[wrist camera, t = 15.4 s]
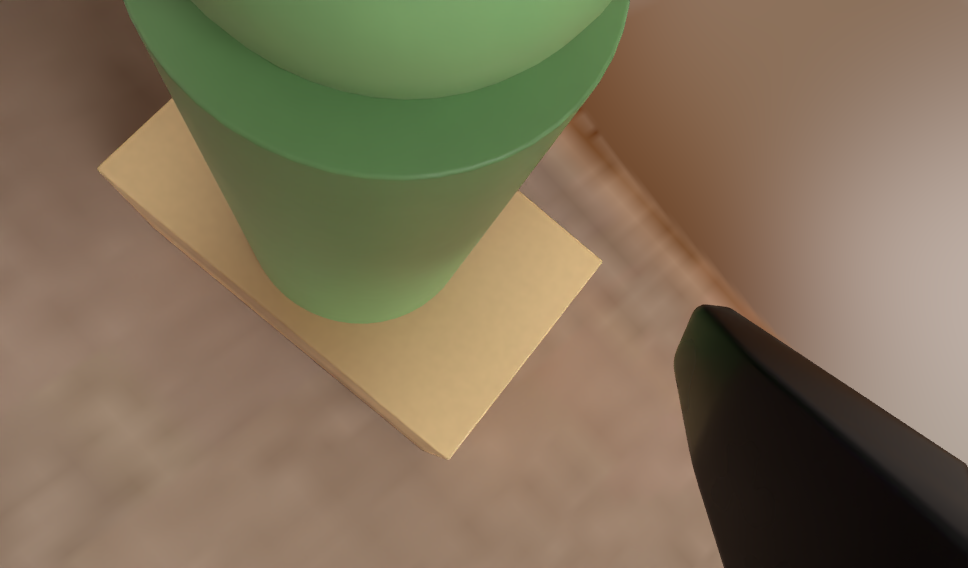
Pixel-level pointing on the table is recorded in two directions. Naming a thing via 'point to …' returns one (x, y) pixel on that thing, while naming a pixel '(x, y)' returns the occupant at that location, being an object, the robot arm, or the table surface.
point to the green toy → (374, 127)
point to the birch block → (383, 345)
